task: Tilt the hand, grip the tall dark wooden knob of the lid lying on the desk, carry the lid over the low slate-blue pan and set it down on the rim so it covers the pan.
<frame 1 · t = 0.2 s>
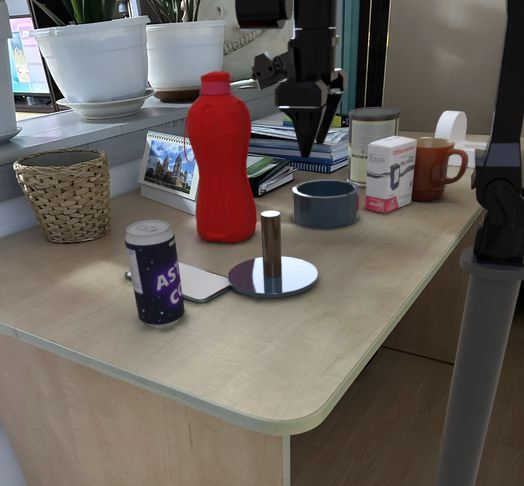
hand: (313, 150, 81), 14 cm above the table, tool pointing down, fingers open, 9 cm apart
pot: (325, 218, 98), on the table
mug: (431, 200, 105), on the table
smartphone: (179, 281, 78), on the table
ink box: (387, 207, 102), on the table
coffee can: (370, 181, 118), on the table
tape dispenser: (447, 160, 131), on the table
beverage can: (163, 321, 68), on the table
water bottle: (223, 236, 93), on the table
lid: (272, 277, 76), point 1 cm above the table
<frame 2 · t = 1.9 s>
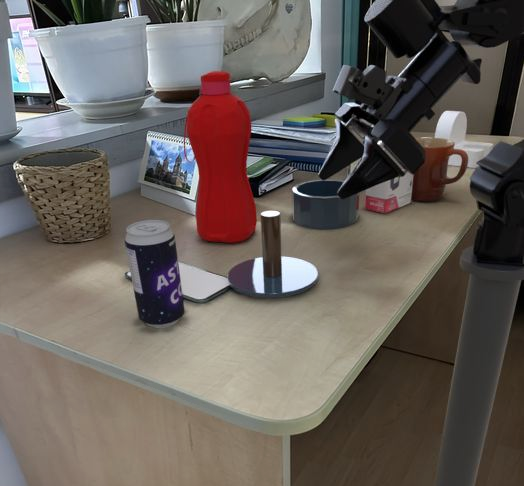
hand: (329, 187, 70), 12 cm above the table, tool tilted 45°, fingers open, 9 cm apart
nothing on the table moved.
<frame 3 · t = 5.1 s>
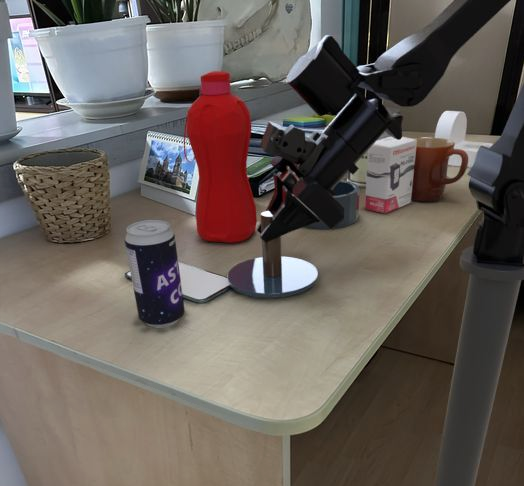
hand: (260, 236, 72), 7 cm above the table, tool tilted 45°, fingers closed on lid, 2 cm apart
lid: (272, 277, 76), point 1 cm above the table, touching gripper
everything else where it was.
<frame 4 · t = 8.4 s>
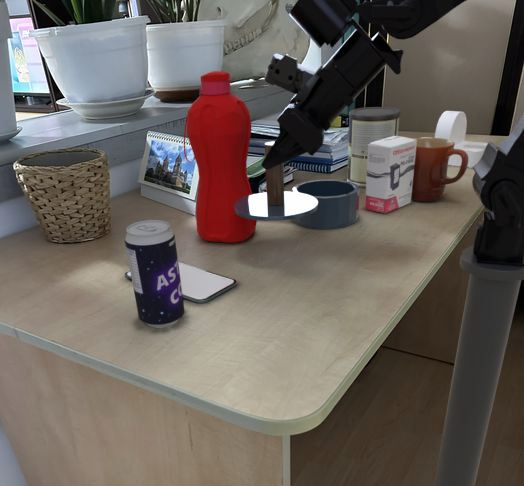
hand: (265, 164, 78), 13 cm above the table, tool tilted 45°, fingers closed on lid, 3 cm apart
lid: (276, 207, 81), point 7 cm above the table, touching gripper
everything else where it was.
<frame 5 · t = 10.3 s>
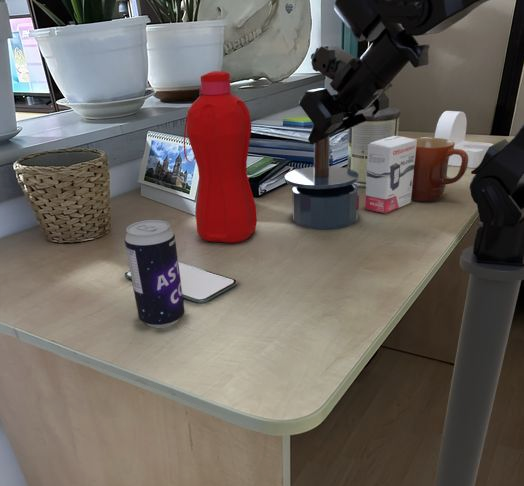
hand: (315, 140, 91), 13 cm above the table, tool tilted 45°, fingers closed on lid, 3 cm apart
lid: (321, 178, 94), point 7 cm above the table, touching gripper
everything else where it was.
when the fingers open (12 cm above the table, at t = 11.7 s): lid stays where it is, resting on pot.
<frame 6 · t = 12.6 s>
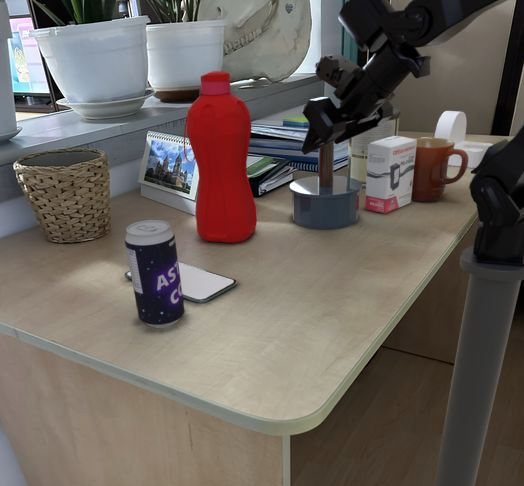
hand: (319, 147, 93), 12 cm above the table, tool tilted 45°, fingers open, 9 cm apart
lid: (325, 188, 95), point 5 cm above the table, touching pot
everything else where it was.
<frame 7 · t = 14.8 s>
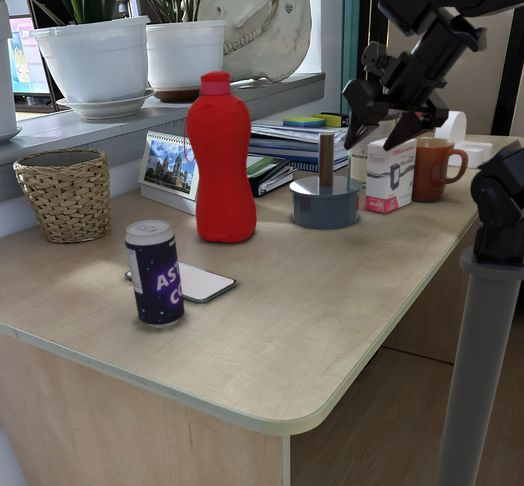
hand: (365, 148, 86), 13 cm above the table, tool tilted 35°, fingers open, 9 cm apart
nothing on the table moved.
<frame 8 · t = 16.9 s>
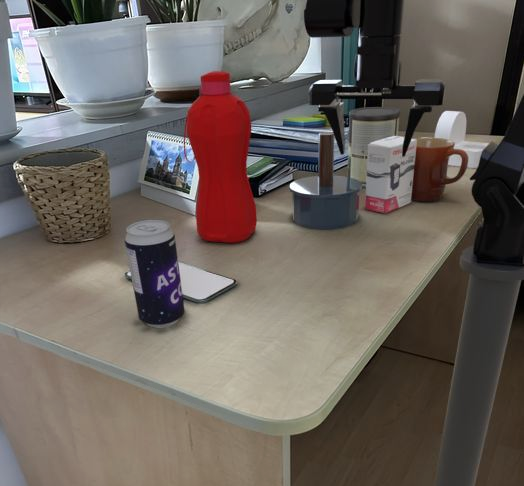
hand: (372, 154, 82), 13 cm above the table, tool pointing down, fingers open, 9 cm apart
nothing on the table moved.
at the end: lid 0.0 cm off-centre on the pot, point 5.4 cm above the pot's base; lid tilted 0°; the gripper is holding nothing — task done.
